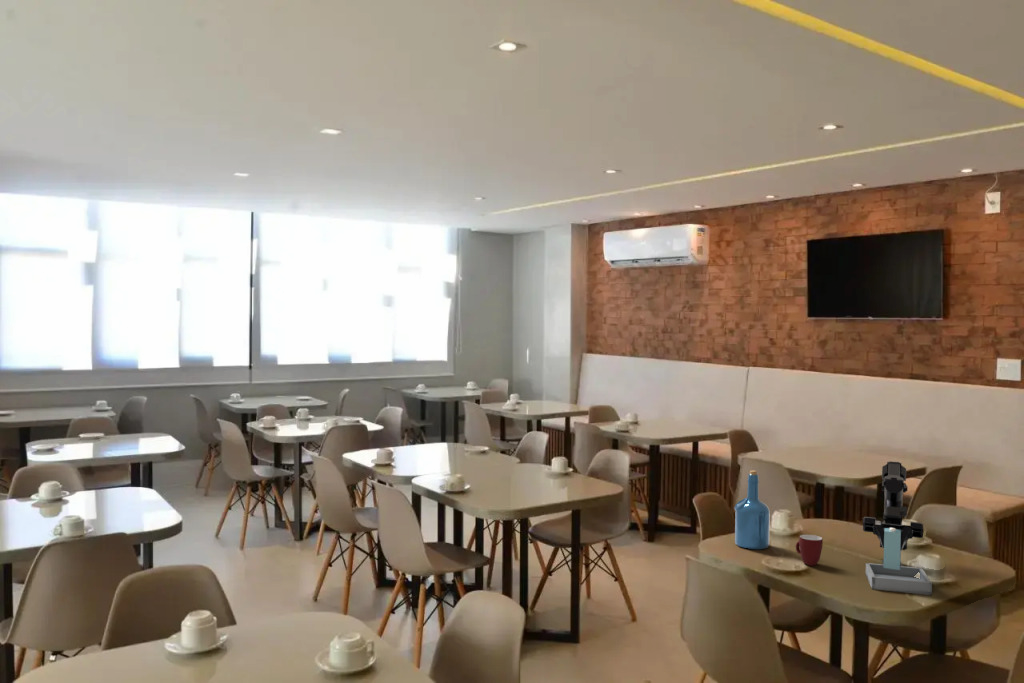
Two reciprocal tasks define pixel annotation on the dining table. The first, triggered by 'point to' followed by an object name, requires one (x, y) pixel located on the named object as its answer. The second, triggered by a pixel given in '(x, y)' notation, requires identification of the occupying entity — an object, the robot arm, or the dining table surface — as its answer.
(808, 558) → the mug
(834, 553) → the dining table surface
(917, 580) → the gray square tray
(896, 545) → the carton
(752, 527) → the wine bottle
